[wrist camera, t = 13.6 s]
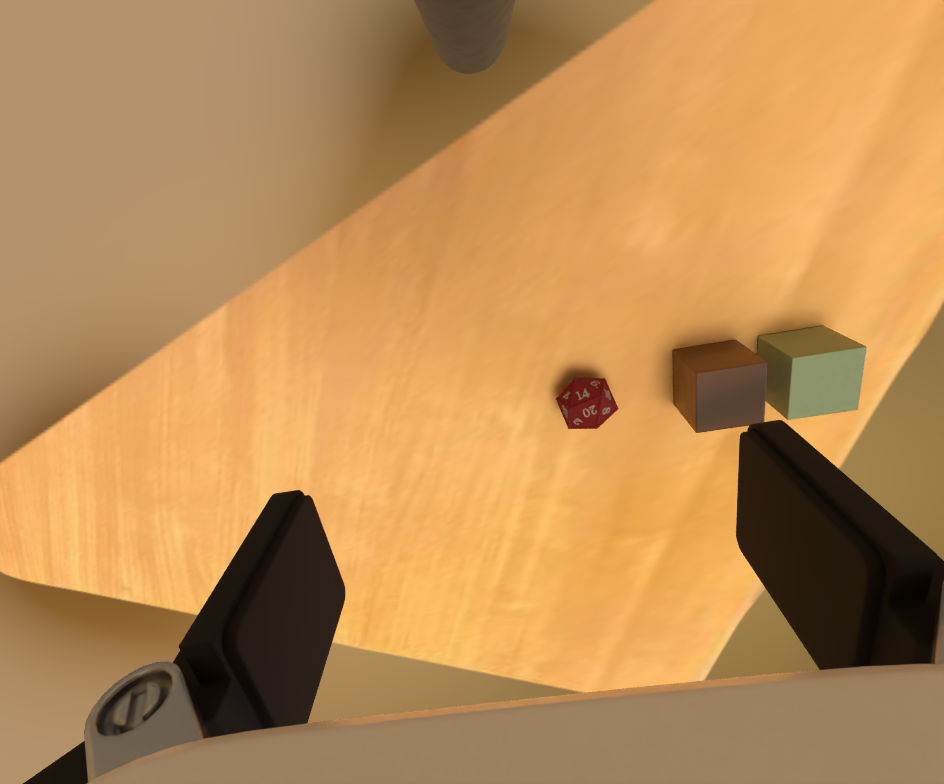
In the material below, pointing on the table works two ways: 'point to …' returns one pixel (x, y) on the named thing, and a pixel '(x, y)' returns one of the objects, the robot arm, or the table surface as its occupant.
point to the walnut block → (719, 385)
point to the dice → (586, 403)
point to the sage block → (812, 371)
